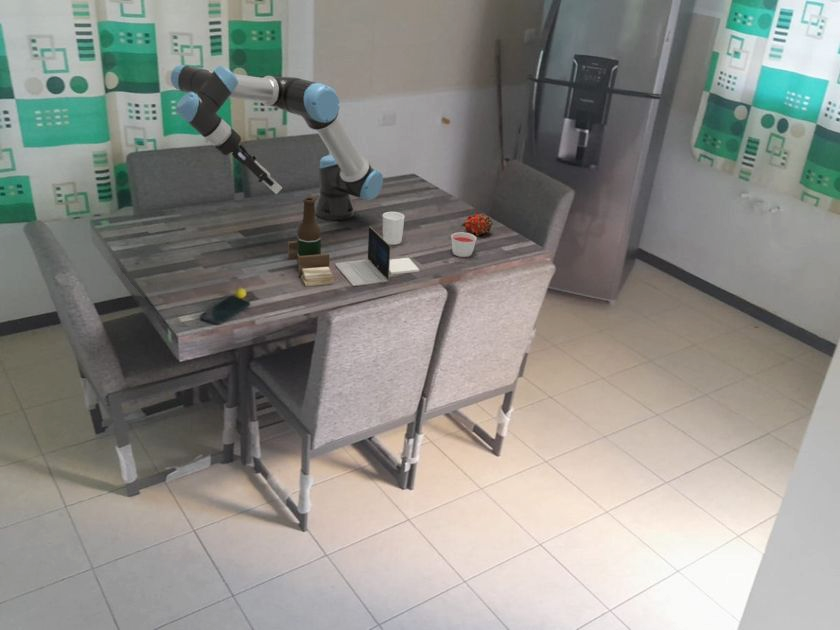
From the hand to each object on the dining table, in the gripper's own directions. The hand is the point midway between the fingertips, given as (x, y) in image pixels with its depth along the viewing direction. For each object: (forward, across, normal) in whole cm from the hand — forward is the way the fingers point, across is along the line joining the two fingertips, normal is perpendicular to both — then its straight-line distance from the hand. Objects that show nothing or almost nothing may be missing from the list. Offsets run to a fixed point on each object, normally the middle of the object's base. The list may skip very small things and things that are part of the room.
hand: (273, 183), depth 245 cm
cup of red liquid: (+69, +3, +28) cm, 74 cm away
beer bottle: (+30, -1, -12) cm, 32 cm away
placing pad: (+50, +8, +9) cm, 52 cm away
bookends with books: (+30, +2, -12) cm, 32 cm away
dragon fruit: (+78, -12, +38) cm, 88 cm away
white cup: (+55, -14, +13) cm, 58 cm away
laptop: (+41, +8, -2) cm, 42 cm away
